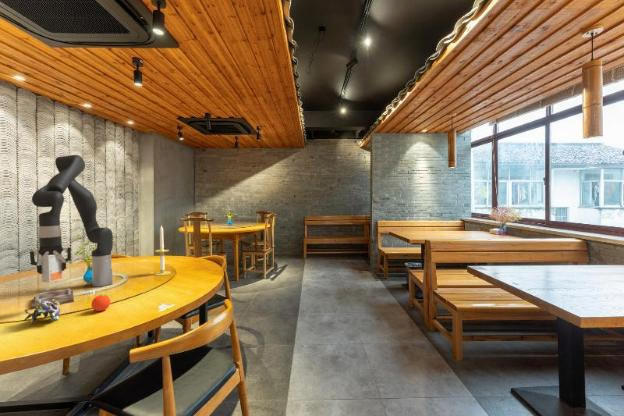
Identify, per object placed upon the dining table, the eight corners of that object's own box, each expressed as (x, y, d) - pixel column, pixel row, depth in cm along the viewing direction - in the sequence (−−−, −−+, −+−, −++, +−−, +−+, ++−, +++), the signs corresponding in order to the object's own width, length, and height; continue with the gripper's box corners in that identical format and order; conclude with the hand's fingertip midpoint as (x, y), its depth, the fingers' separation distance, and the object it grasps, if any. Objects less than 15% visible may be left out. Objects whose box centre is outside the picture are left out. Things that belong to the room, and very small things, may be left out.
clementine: (110, 305, 136) (110, 290, 136) (115, 309, 132) (115, 293, 131) (89, 311, 130) (89, 295, 130) (94, 314, 126) (93, 298, 125)
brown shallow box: (72, 292, 156) (72, 287, 156) (73, 301, 142) (73, 296, 142) (34, 299, 146) (33, 293, 146) (31, 309, 132) (30, 303, 132)
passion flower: (56, 333, 121) (63, 313, 117) (19, 337, 113) (26, 315, 109) (57, 311, 128) (64, 291, 124) (22, 313, 120) (28, 292, 116)
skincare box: (49, 282, 129) (47, 255, 129) (41, 282, 130) (40, 255, 130) (63, 278, 135) (62, 253, 135) (56, 278, 136) (54, 252, 135)
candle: (168, 270, 202) (167, 223, 201) (172, 273, 195) (171, 224, 193) (152, 273, 196) (151, 224, 195) (156, 276, 188) (154, 225, 187)
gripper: (70, 233, 139) (72, 267, 140) (28, 236, 130) (30, 273, 131) (71, 235, 133) (72, 270, 134) (27, 238, 124) (29, 276, 125)
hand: (52, 272), depth 132 cm, fingers closed on skincare box, 7 cm apart
